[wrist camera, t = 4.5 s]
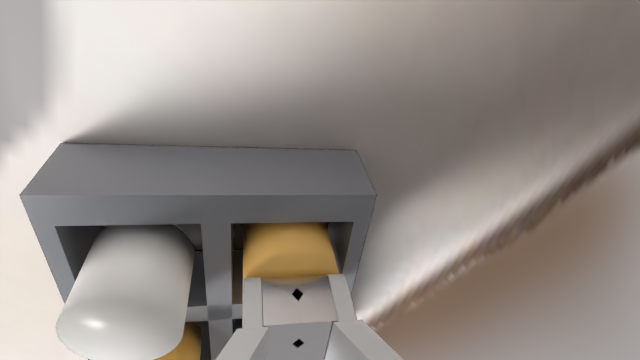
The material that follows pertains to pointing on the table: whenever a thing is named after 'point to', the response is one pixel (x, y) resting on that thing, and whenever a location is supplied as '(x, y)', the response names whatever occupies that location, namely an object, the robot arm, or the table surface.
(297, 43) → the table surface
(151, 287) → the button
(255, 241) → the button
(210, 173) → the grey egg tray
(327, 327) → the robot arm
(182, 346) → the button
